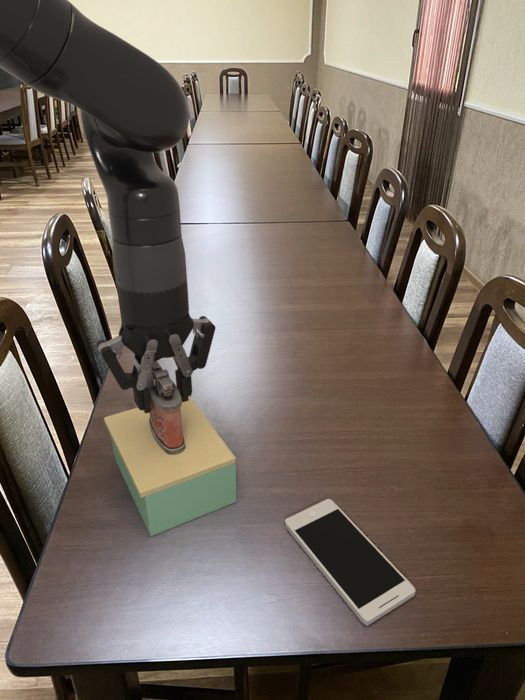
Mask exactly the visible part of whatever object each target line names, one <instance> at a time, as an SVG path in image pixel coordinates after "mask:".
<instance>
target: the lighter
mask: <svg viewBox="0 0 525 700" xmlns="http://www.w3.org/2000/svg"><path fill="white" fill-rule="evenodd" d="M147 387H148V389H149V397H150V405H151V412H149V413H150V417H149V425H150V429H151V433H152V435H153V437H154V440H155V441H156V442H157V444H158V445H159V447H160V448H161V449H162V450H163V451H164V452H165V453H167V454H168V455H177V454H180V453H182V452H183V451H184V450H185V448H186V446H185V439H184V436H183V430H182V419H181V408H180V407H181V406H182V400H181V396H180V393H179V390H178V389H177V386H176V383H175V382H174V381H173V380H172V379H171V377H170V374H169V371H168V369H167V368H165V369H163V367H162V366H161V365H160V363H159V362H158V361H155V362H153V365H152V370H151V373H149V376H148V381H147Z"/></svg>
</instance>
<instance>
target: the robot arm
mask: <svg viewBox="0 0 525 700" xmlns="http://www.w3.org/2000/svg"><path fill="white" fill-rule="evenodd" d="M0 69H2V70H3V71H4V72H6V73H8V74H9V75H11V76H12V77H14V78H15V79H17V80H19V81H20V82H22V83H23V84H25V85H26V86H28V87H30V88H31V89H32V90H35V91H36V92H37V93H40V94H42V95H44V96H47V97H49V98H51V99H55V100H58V101H61V102H65V103H67V104H69V105H72V106H74V107H76V108H78V109H79V111H80V112H79V113H80V120H81V125H82V130H83V133H84V137H85V140H86V143H87V147H88V150H89V152H90V154H91V158H92V160H93V164H94V167H95V170H96V172H97V174H98V177H99V179H100V181H101V185H102V187H103V189H104V192H105V195H106V199H107V200H106V201H107V210H108V218H109V224H110V232H111V239H112V240H111V241H112V263H113V264H112V265H113V269H112V270H113V271H112V273H113V277H114V279H115V285H116V291H117V300H118V307H119V313H120V321H121V324H120V328H119V330H118V335H117V336H115V337H113V338H111V339H109V340H105V339H99V340H97V342H96V348H97V350H98V351H99V353H100V355H101V357H102V359H103V360H104V362H105V364H106V366H107V367H108V369H109V370H110V373H111V374H112V376H113V377H114V379H115V380H116V382H117V384H118V386H119V387H120V389H121V390H123V391H126V390H129V389H132V392H133V400H134V403H135V405H136V406H137V407H138V408H139V409H140V411H141V410H143V411H144V413H145V414H146V413H149V412H151V405H150V397H149V389H148V387H147V381H148V376H149V373H151V370H152V365H153V362H155V361H157V362H158V361H159V360H161V359H169V358H172V359H173V361H174V364H175V366H176V367H177V368H176V369H175V370H174V373H175V374H174V375H175V385H176V387H177V389H178V390H179V393H180V396H181V400H182V402H186V401H189V397H188V396H190V397H192V395H193V381H192V375H193V373H194V371H196V370H198V369H199V370H202V369H204V368H205V367H206V366H207V362H208V359H209V355H210V352H211V347H212V343H213V340H214V335H215V332H216V325H215V324H214V323H213V321H212V320H210V319H209V318H208V317H207V316H206V315H201V316H199V318H192V316H191V315H190V302H189V285H188V273H187V260H186V259H187V258H186V257H187V256H186V251H185V245H184V240H183V235H182V220H181V208H180V197H179V196H180V195H179V191H178V186H177V184H176V182H175V181H174V180H173V178H172V177H170V176H169V175H168V174H166V173H165V172H164V171H162V170H161V168H160V167H159V166H158V164H157V162H156V159H155V156H154V153H155V154H156V153H163V152H166V151H169V150H171V149H172V148H174V147H175V146H176V145H178V144H179V143H181V141H182V140H183V138H184V137H185V134H186V132H187V130H188V127H189V122H190V109H189V107H190V106H189V102H188V100H187V96H186V94H185V92H184V90H183V87H182V86H181V85H180V83H179V82H178V81H177V79H176V77H174V76H173V74H171V72H170V71H169V70H168V69H167V68H165V67H164V66H163V64H161V63H159V62H158V61H157V60H156V59H154V58H153V57H151V56H150V55H148V54H146V53H145V52H143V51H142V50H140V49H139V48H137V47H136V46H134V45H133V44H131V43H129V42H127V41H126V40H124V39H123V38H121V37H119V35H117V34H115V33H114V32H111V31H109V30H108V29H106V28H104V27H102V26H101V25H99V24H97V23H96V22H94V21H93V20H91V19H89V18H88V17H87V16H85V15H84V14H83V13H82V12H81V11H80V10H79V9H78V8H77V7H76V6H75V5H73V3H72V2H70V1H69V0H0ZM191 333H192V334H193V338H192V339H193V340H192V343H191V348H190V352H189V355H187V353H186V351H185V348H184V345H185V343H186V342H187V339H188V338H189V336H190V334H191ZM124 346H125V347H126V348H127V349H128V350H130V351H131V352H132V355H131V363H132V364H131V369H130V372H125V371H124V369H123V366H121V364H120V362H119V360H120V359H121V357H122V355H123V352H122V348H123V347H124Z"/></svg>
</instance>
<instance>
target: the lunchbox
mask: <svg viewBox="0 0 525 700" xmlns="http://www.w3.org/2000/svg"><path fill="white" fill-rule="evenodd" d="M110 439H111V445H112V451H113V457H114V460H115V462H116V465H117V468H118V469H119V471H120V473H121V476H122V478H123V479H124V482H125V484H126V486H127V489H128V491H129V493H130V495H131V497H132V499H133V501H134V503H135V506H136V508H137V510H138V512H139V514H140V516H141V519H142V521H143V523H144V525H145V527H146V530H147V531H148V534H149V536H150V537H154V536H156V535H158V534H161V533H163V532H166V531H169V530H171V529H174V528H176V527H179V526H181V525H183V524H185V523H186V524H187V523H189V522H191V521H194V520H196V519H198V518H201V517H203V516H206V515H208V514H210V513H213V512H215V511H218V510H220V509H223V508H226V507H227V506H228V507H229V506H231V505H233V504H235V503H237V463H236V462H235V463H233V464H230V465H228V466H225V467H222V468H220V469H217V470H214V471H212V472H209V473H206V474H203V475H201V476H198V477H195V478H193V479H190V480H187V481H185V482H182V483H179V484H177V485H174V486H171V487H169V488H166V489H163V490H161V491H158V492H155V493H153V494H150V495H147V496H145V497H142V498H141V497H140V495H139V493H138V491H137V489H136V487H135V485H134V483H133V481H132V479H131V477H130V474H129V472H128V470H127V468H126V466H125V464H124V462H123V460H122V458H121V456H120V454H119V451H118V449H117V447H116V445H115V443H114V441H113V439H112V437H111V436H110Z"/></svg>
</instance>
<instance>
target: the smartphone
mask: <svg viewBox="0 0 525 700" xmlns="http://www.w3.org/2000/svg"><path fill="white" fill-rule="evenodd" d="M284 527H285V528H286V530H287V531H288V532H289V534H290V535H291V536H292V537H293V538H294V540H295V541H296V542H297V544H298V545H299V546H300V547H301V548H302V550H303V551H304V553H305V554H306V555H307V556H308V557H309V559H310V560H311V561H312V562H313V563H314V565H315V566H316V568H318V570H319V571H320V572H321V574H323V576H324V577H325V579H326V580H327V581H328V582H329V583H330V585H331V586H332V587H333V588H334V590H335V591H336V592H337V593H338V594H339V596H340V597H341V598H342V600H344V602H345V603H346V605H347V606H348V607H349V608H350V609H351V611H352V612H353V613H354V615H355V616H356V617H357V619H359V621H360V622H361V623H362V624H363V625H364V626H366V627H367V626H370V625H371V624H373V623H374V622H376V621H377V620H379V619H381V618H382V617H384V616H385V615H387V614H388V613H390V612H392V611H393V610H395V609H397V608H398V607H400V606H401V605H402V604H404V603H406V602H407V601H409V600H410V599H412V598H413V597H415V594H416V588H415V586H414V585H413V584H412V582H410V581H409V579H407V578H406V577H405V576H404V575H403V574H402V573H401V572H400V570H399V569H398V568H396V566H395V565H394V564H393V563H392V561H390V560H389V558H388V557H387V556H385V554H384V553H383V552H382V551H381V550H380V549H379V548H378V547H377V546H376V545H375V544H374V543H373V542H372V541H371V539H369V537H368V536H366V535H365V534H364V532H363V531H362V530H361V529H360V528H359V527H358V526H357V525H356V523H355V522H353V521H352V520H351V518H350V517H349V516H348V515H347V514H346V513H345V512H344V511H343V510H342V509H341V508H340V507H339V506H338V505H337V504H336V502H335V501H334V500H332V499H331V498H326V499H325V500H323V501H320V502H319V503H316V504H314V505H312V506H310V507H308V508H306V509H304V510H301V511H299V512H297V513H295V514H293V515H291V516H289V517H287V518H285V519H284Z"/></svg>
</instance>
